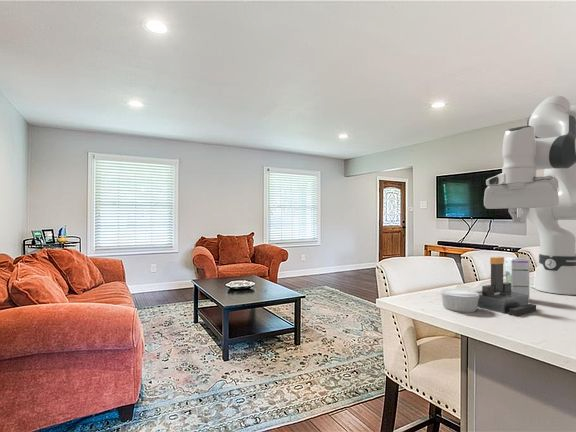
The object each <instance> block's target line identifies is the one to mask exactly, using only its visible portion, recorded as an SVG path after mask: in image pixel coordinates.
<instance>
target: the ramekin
mask: <svg viewBox="0 0 576 432" xmlns="http://www.w3.org/2000/svg"><path fill="white" fill-rule="evenodd" d="M474 291H475V290H469V289H468V290H467V289H461V288H445V289H441V290H440V292H439V293H440V295H441V301H442V306H443V308H444V309H446V310H449V311H453V312H457V313H474V312H475V311H477V309H478V307H477V305H478V299H479V297H480V295H479V293H477V292H474Z"/></svg>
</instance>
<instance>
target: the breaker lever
mask: <svg viewBox="0 0 576 432" xmlns="http://www.w3.org/2000/svg"><path fill="white" fill-rule="evenodd" d="M489 259H490V261H489V263H490V285H493V286H494V293H498V292H502V291H503V283H504V264H505V257H503V256H494V257H490V258H489Z"/></svg>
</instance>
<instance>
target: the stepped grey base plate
mask: <svg viewBox="0 0 576 432" xmlns="http://www.w3.org/2000/svg"><path fill="white" fill-rule="evenodd" d="M481 287H482V288H481V289H478V290H473V291H474V292H477V293H479V295H480V297H479V299H478V305H477V308H480V309H484V310H488V311H493V312H497V313H501V314H507V313H508V314H509V309H510V308H514V307H519V306H523V305H527V304H529V301H528V295H526V294H520V293H514V292H511V283H508V282H506V281H503V291H502V292H498V293H494V286H493V285H491V284H488V285H487V284H486V285H482V286H481Z"/></svg>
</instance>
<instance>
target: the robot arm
mask: <svg viewBox="0 0 576 432" xmlns="http://www.w3.org/2000/svg"><path fill="white" fill-rule="evenodd" d="M501 153H502V155H501V156H502V159H503V165H502V169H501V172H502V173H499V174H497V175H495V176H492V177H489V178H487V179H485V185H486V186H487V187H486V188H485V189H484V196H483V207H485V209H487V210H488V209H489V210H490V209H491V210H493V209H494V210H495V209H500V210H501V209H508V214H509V215H510V217H511V219H512V223H513V224H526V219H528V221H530V222H531V223H532V224H533V225H534V226H535V228H536V230H537V232H538V236H539V249H540V251H539V253H540V254H538V263H539V264H538V265H537V266H536V267H535V268H534V269H535V270H534V278H533V279H534V281H533V284H531V283H530V288H532V289H534V290H537V291H540V292H544V293H550V294H556V295H557V294H558V295H567V296H568V295H569V296H571V295H572V296H576V236H575V234H573V233H572V232H571V231H569V230H567V229H565V228H563V227H561V225H559V221H561V220H563V221H567V220H568V221H572V220H573V221H576V105H571V103H570V100H568V99H567V98H566V97H564V96H562V95H551V96H549V97H547V98H545V99H544V100H543V101H541V102H540V103H539V104H538V105H537V106H536V107H535V108H534V110H533V111H532V113H531V114H530V116H528V118H527V122H526V124H525V125H522V126H517V127H512V128H511V127H510V128H508V129H506V130H505V132H504V135H503V139H502V151H501ZM538 170H539V171H540V170H543V176H537V171H538ZM517 209H519V210H520V212H521V215H520V216H518V215H517V214H516V213H517Z"/></svg>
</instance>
